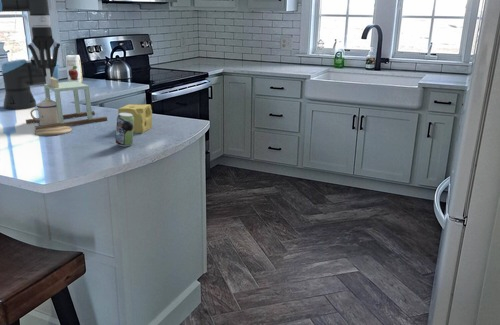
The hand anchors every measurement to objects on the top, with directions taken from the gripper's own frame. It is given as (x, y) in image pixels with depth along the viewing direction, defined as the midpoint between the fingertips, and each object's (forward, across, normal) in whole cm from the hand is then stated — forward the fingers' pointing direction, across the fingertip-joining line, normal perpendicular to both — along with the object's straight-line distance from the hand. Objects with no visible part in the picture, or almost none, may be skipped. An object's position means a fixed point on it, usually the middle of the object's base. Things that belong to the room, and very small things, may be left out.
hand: (49, 83), depth 203 cm
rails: (+17, +6, 0) cm, 18 cm away
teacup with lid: (+18, -3, 0) cm, 18 cm away
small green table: (+16, +7, 0) cm, 17 cm away
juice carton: (+18, +45, +111) cm, 121 cm away
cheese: (+18, +24, -33) cm, 44 cm away
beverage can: (+18, +11, -53) cm, 57 cm away
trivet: (+17, -4, -15) cm, 23 cm away
